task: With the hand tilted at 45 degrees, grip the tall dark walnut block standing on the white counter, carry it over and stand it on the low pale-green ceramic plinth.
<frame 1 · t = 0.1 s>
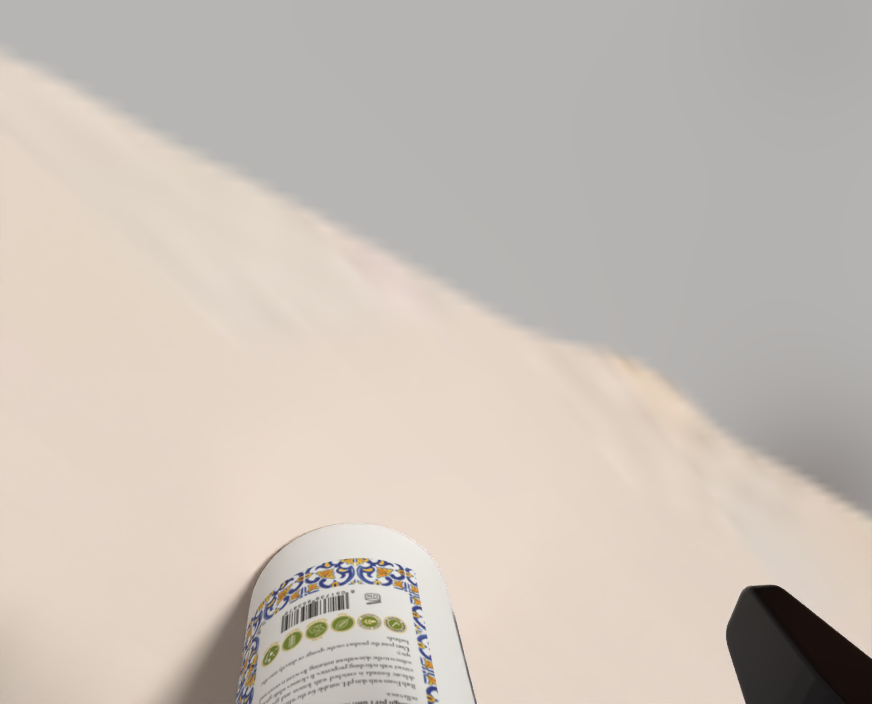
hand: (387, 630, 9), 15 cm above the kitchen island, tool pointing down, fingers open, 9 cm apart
bath foam: (349, 597, 27), on the kitchen island
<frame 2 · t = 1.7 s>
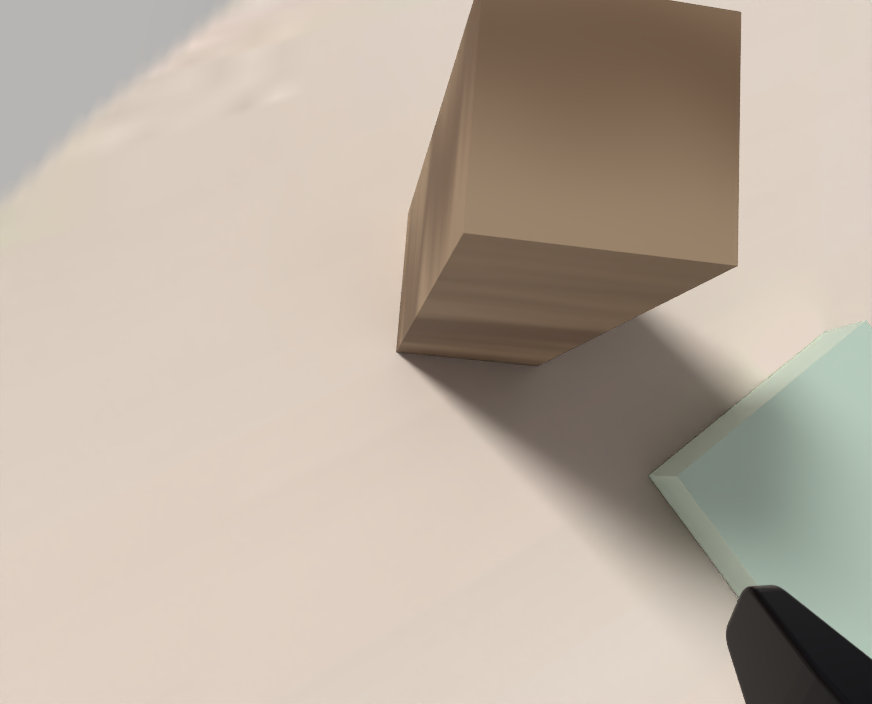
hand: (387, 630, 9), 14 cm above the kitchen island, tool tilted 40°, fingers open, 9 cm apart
walnut block: (472, 289, 24), on the kitchen island
green plinth: (814, 501, 25), on the kitchen island
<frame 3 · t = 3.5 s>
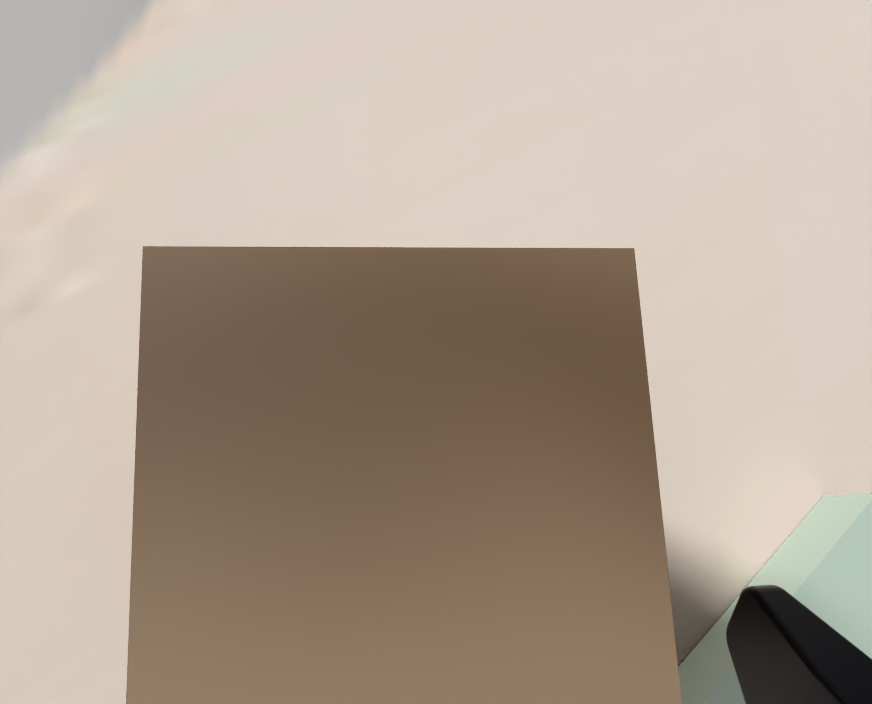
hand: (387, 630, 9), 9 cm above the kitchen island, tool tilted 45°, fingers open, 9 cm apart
walnut block: (357, 511, 18), on the kitchen island
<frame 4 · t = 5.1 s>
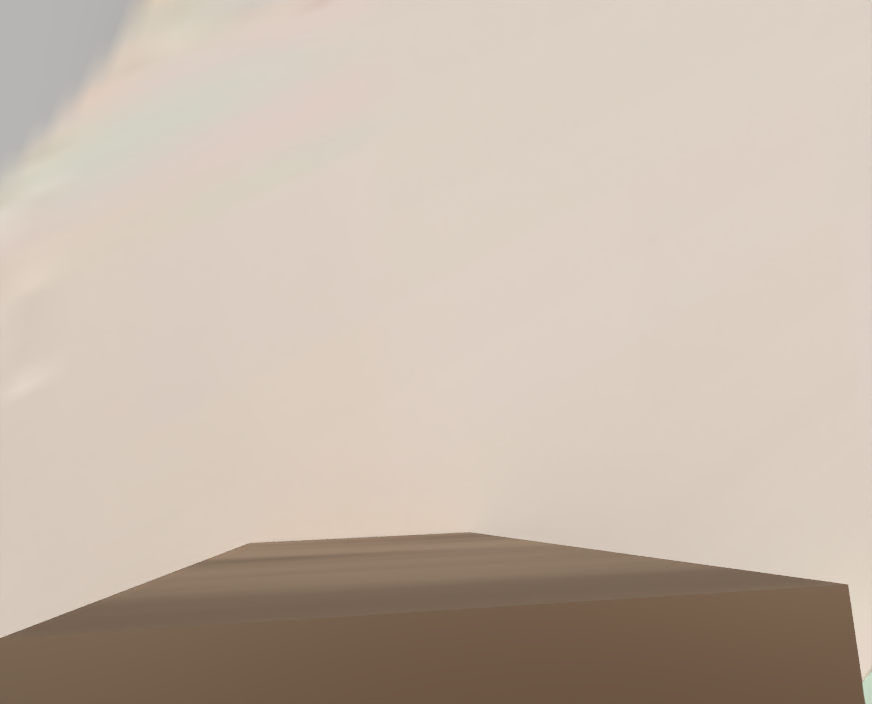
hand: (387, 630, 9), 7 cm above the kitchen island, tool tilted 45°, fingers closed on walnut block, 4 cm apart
walnut block: (364, 653, 15), on the kitchen island, touching gripper
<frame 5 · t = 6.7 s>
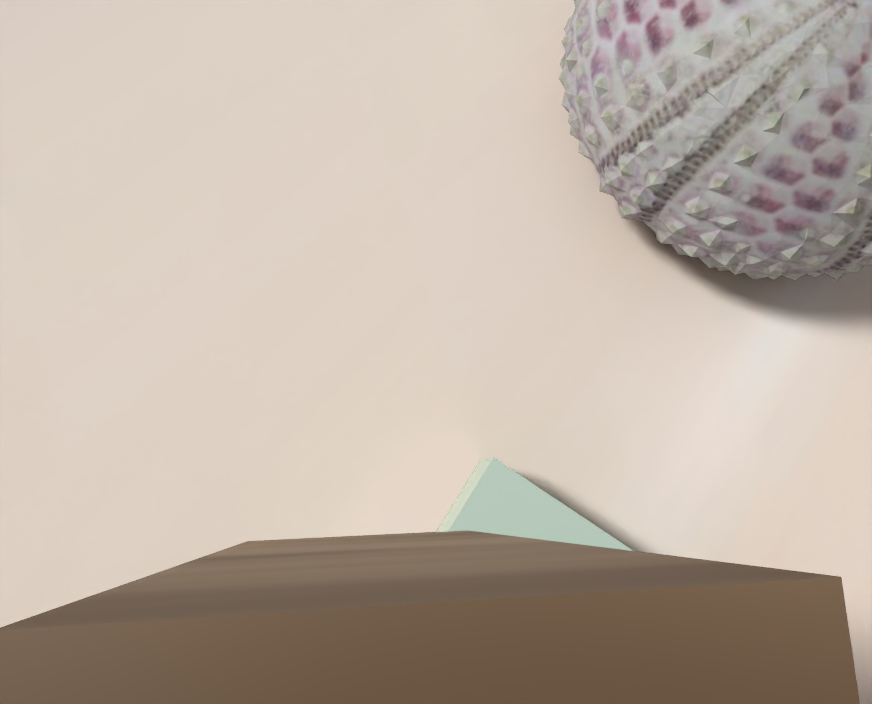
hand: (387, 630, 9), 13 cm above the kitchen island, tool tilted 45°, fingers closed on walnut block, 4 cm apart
sea urchin shell: (723, 120, 27), on the kitchen island
walnut block: (362, 651, 15), point 7 cm above the kitchen island, touching gripper
green plinth: (522, 653, 22), on the kitchen island
when the fingers open (9 cm above the kitchen island, at t = 8.4 s): walnut block stays where it is, resting on green plinth.
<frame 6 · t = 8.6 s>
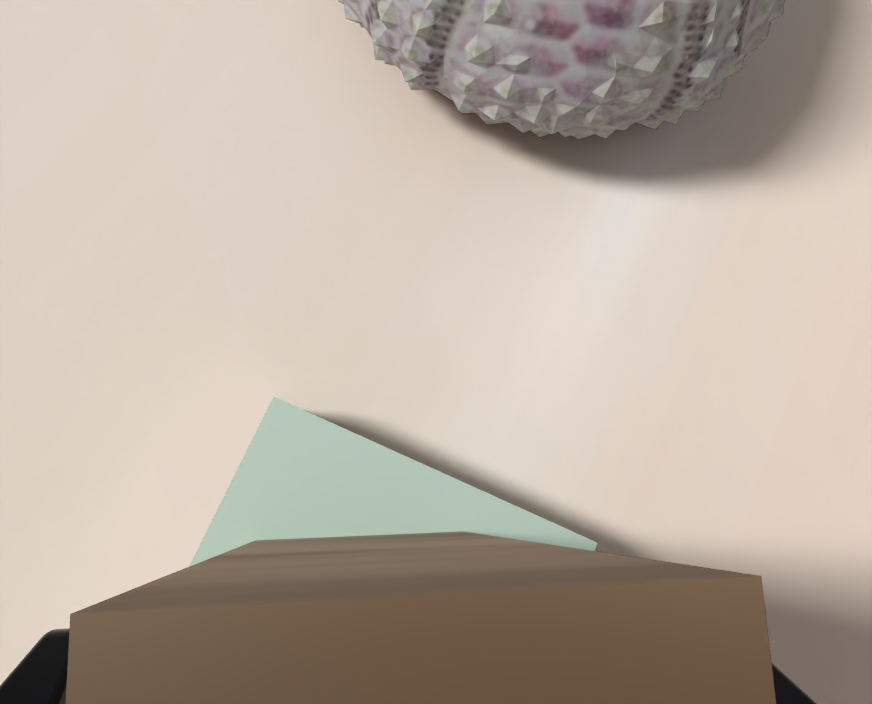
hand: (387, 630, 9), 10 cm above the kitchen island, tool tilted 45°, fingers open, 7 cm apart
walnut block: (363, 644, 16), point 2 cm above the kitchen island, touching green plinth
green plinth: (358, 630, 18), on the kitchen island
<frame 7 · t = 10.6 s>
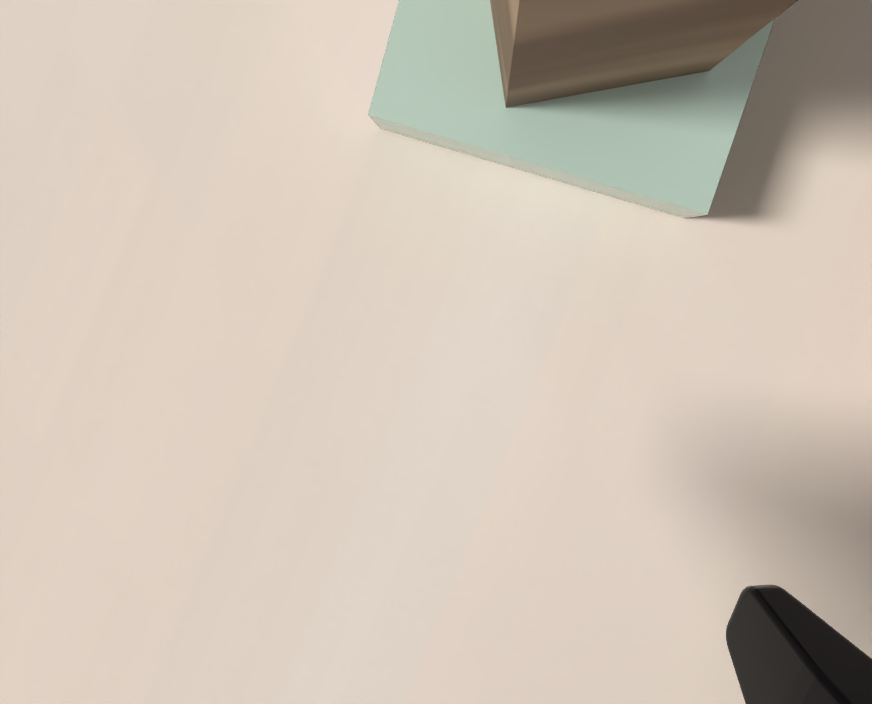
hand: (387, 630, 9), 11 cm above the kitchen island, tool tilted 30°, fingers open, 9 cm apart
green plinth: (580, 12, 19), on the kitchen island
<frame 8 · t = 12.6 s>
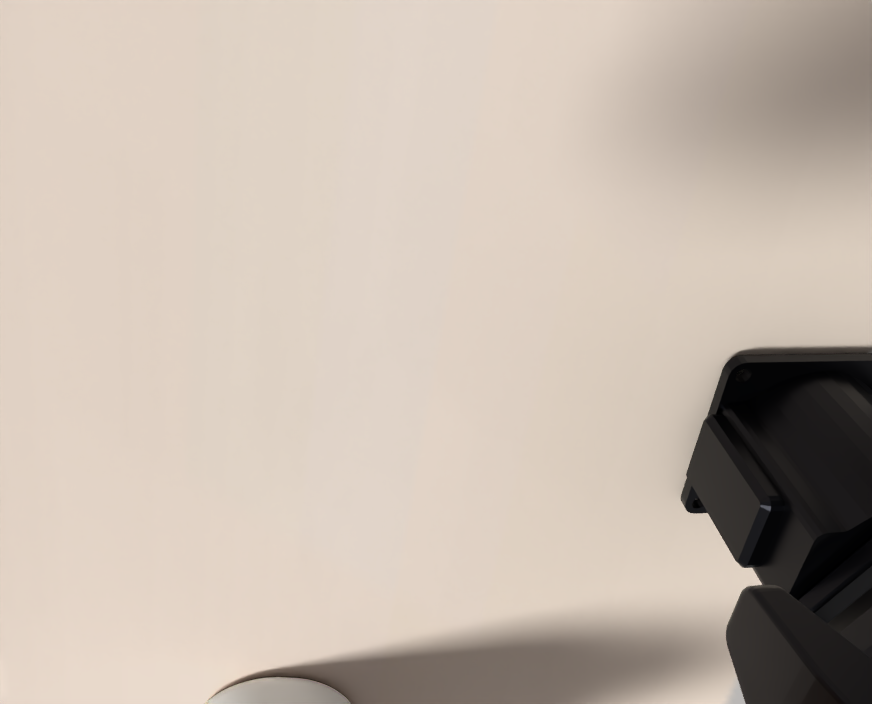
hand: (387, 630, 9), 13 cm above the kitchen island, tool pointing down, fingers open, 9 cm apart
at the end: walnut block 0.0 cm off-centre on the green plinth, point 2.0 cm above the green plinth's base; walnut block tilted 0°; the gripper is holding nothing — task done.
